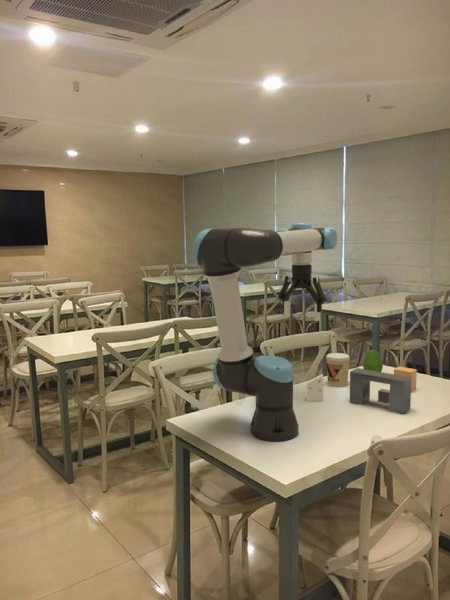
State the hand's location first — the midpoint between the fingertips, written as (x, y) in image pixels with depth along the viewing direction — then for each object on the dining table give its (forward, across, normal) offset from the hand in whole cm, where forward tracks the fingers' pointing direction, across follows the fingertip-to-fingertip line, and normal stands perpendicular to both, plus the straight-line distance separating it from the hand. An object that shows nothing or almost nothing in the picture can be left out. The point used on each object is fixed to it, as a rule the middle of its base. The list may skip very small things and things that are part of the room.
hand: (301, 319), depth 194 cm
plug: (+29, -31, -17) cm, 46 cm away
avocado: (+29, -14, -34) cm, 47 cm away
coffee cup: (+29, -7, -16) cm, 34 cm away
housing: (+29, -31, -2) cm, 42 cm away
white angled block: (+29, -9, +6) cm, 31 cm away
